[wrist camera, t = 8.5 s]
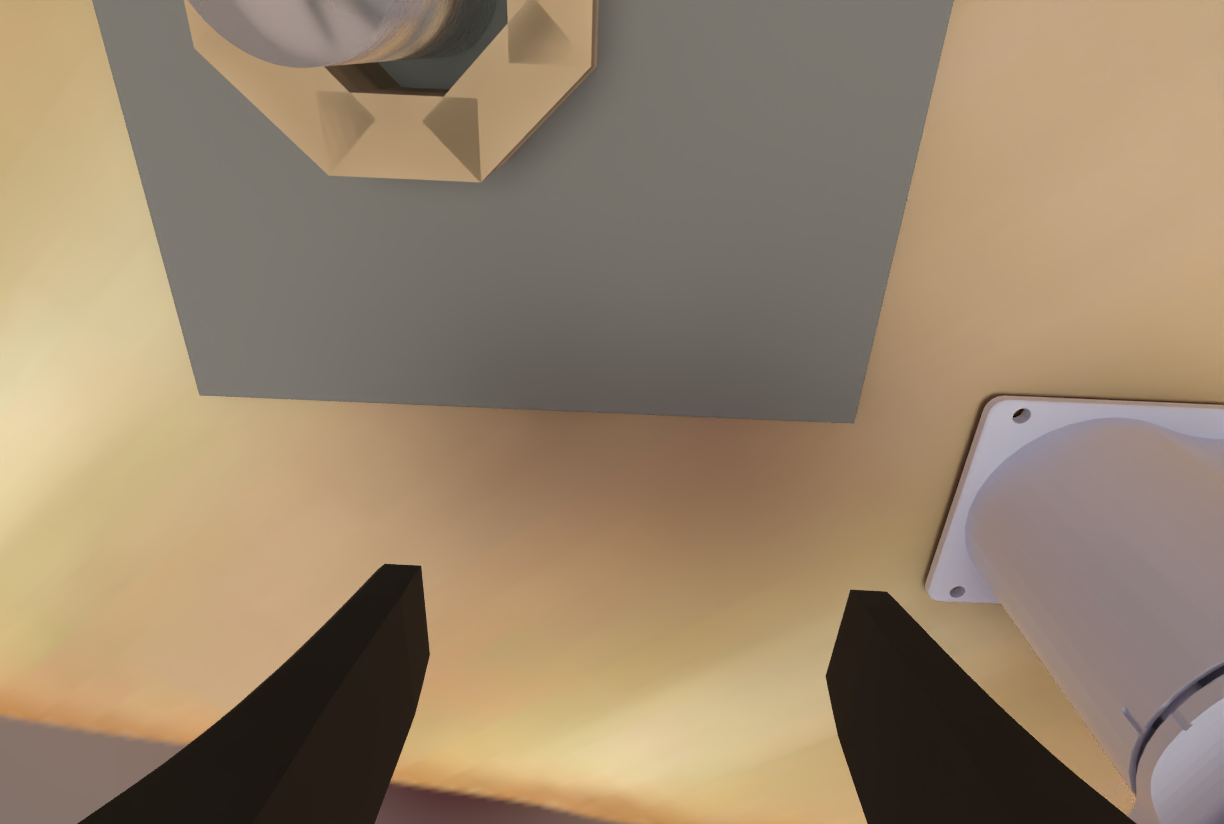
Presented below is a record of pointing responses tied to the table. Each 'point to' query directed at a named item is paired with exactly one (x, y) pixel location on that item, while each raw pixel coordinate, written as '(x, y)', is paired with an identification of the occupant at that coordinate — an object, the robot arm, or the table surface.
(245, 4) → the steel peg
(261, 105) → the beech bead
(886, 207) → the charcoal mat
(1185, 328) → the table surface
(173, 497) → the table surface
